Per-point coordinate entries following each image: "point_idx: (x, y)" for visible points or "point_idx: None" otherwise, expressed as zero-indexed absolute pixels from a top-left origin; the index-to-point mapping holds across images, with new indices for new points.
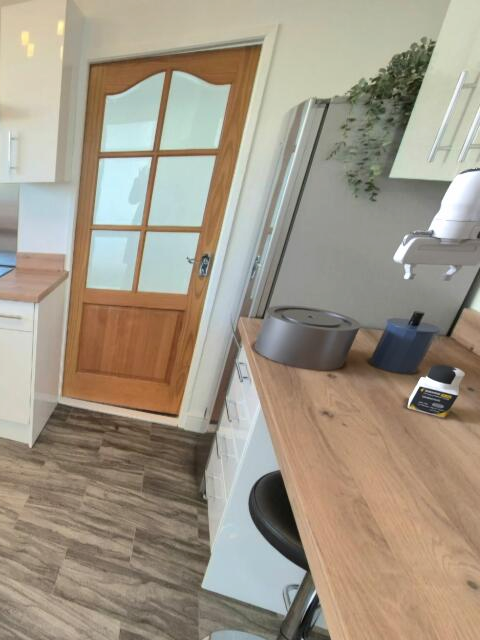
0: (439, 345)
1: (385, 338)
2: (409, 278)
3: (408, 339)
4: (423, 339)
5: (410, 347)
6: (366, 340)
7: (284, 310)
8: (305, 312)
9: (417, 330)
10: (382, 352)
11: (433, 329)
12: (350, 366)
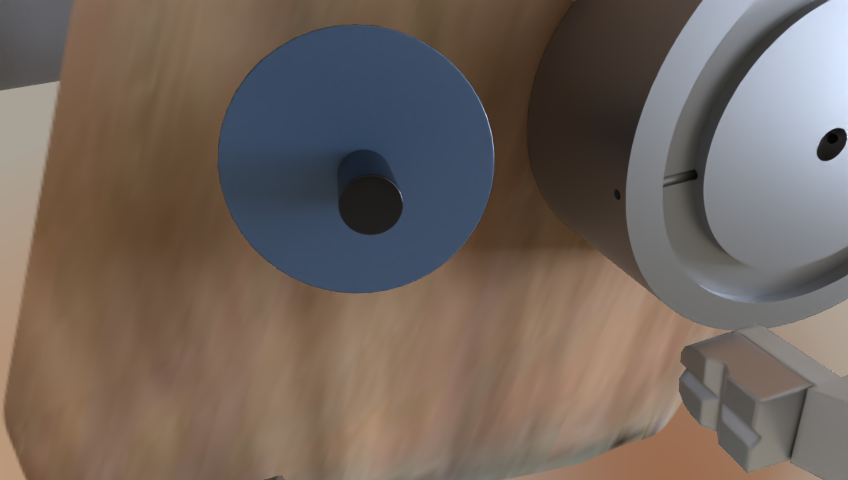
0: (104, 450)
1: None
2: (746, 333)
3: None
4: None
5: None
6: (354, 384)
7: (846, 254)
8: (806, 225)
9: (389, 30)
10: None
11: (272, 105)
12: (521, 43)
